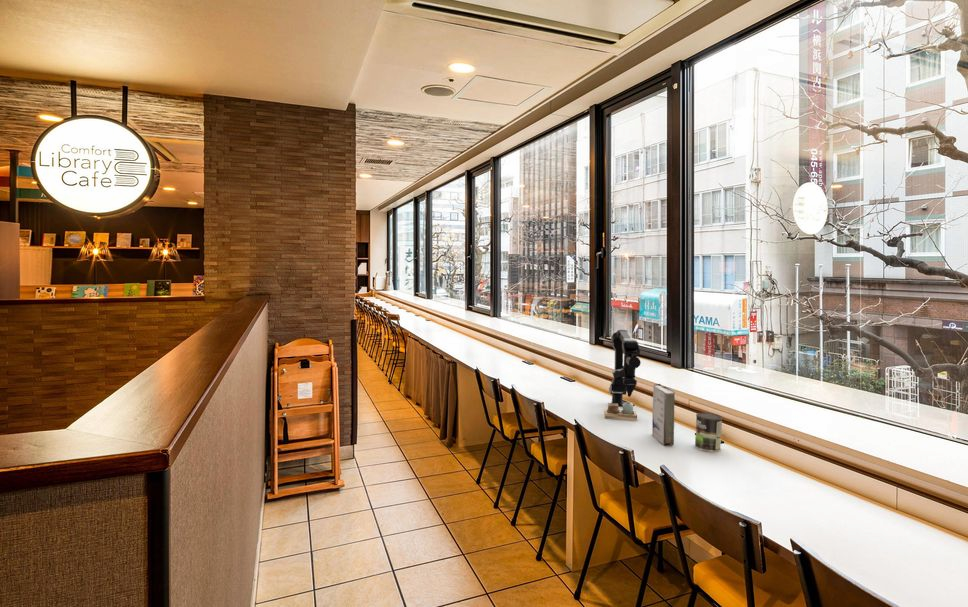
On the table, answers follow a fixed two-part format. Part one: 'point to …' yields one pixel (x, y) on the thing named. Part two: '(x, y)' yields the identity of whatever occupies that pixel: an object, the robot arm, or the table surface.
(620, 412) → the caddy base
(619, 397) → the robot arm
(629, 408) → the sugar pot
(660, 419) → the book
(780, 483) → the table surface
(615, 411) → the walnut block
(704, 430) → the coffee can
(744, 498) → the table surface
